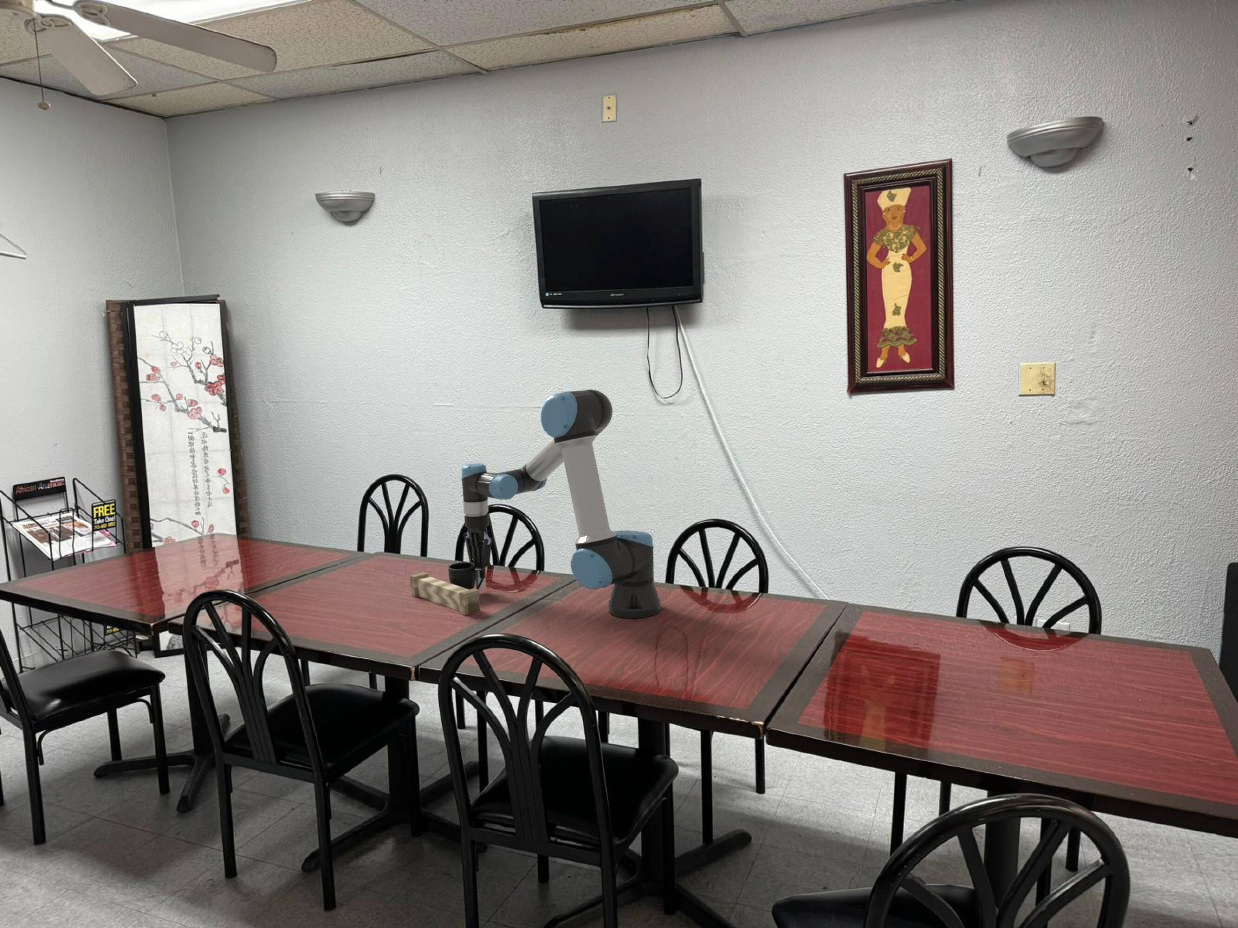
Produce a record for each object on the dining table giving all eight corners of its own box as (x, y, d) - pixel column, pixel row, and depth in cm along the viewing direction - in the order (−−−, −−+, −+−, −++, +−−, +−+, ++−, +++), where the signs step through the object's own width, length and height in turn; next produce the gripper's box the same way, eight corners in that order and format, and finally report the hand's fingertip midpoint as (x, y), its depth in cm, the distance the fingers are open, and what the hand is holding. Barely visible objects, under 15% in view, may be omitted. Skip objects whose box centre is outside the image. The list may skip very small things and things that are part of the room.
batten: (480, 611, 259) (478, 589, 258) (465, 615, 255) (463, 593, 254) (425, 591, 280) (424, 572, 279) (411, 595, 277) (409, 575, 276)
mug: (479, 601, 268) (476, 571, 266) (445, 598, 272) (442, 568, 271) (492, 592, 276) (490, 563, 274) (459, 590, 280) (457, 561, 278)
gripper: (498, 514, 271) (503, 588, 275) (474, 508, 280) (479, 580, 284) (478, 518, 266) (482, 594, 270) (454, 512, 275) (459, 585, 279)
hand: (480, 587), depth 277 cm, fingers closed
